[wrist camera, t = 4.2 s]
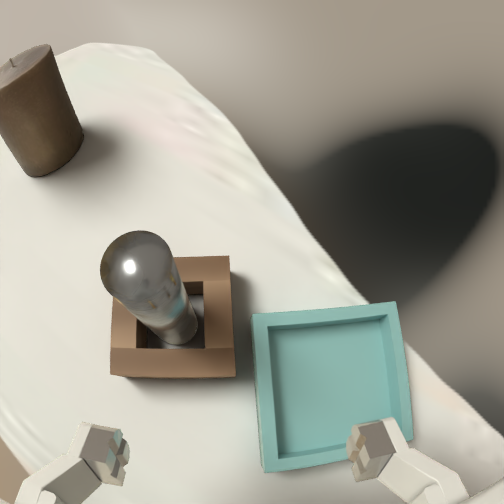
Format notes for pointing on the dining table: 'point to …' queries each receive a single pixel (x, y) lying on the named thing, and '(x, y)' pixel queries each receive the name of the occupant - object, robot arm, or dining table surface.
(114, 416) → the dining table surface
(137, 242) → the metal peg
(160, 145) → the dining table surface
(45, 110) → the pillar candle
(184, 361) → the walnut collar
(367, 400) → the teal tray
